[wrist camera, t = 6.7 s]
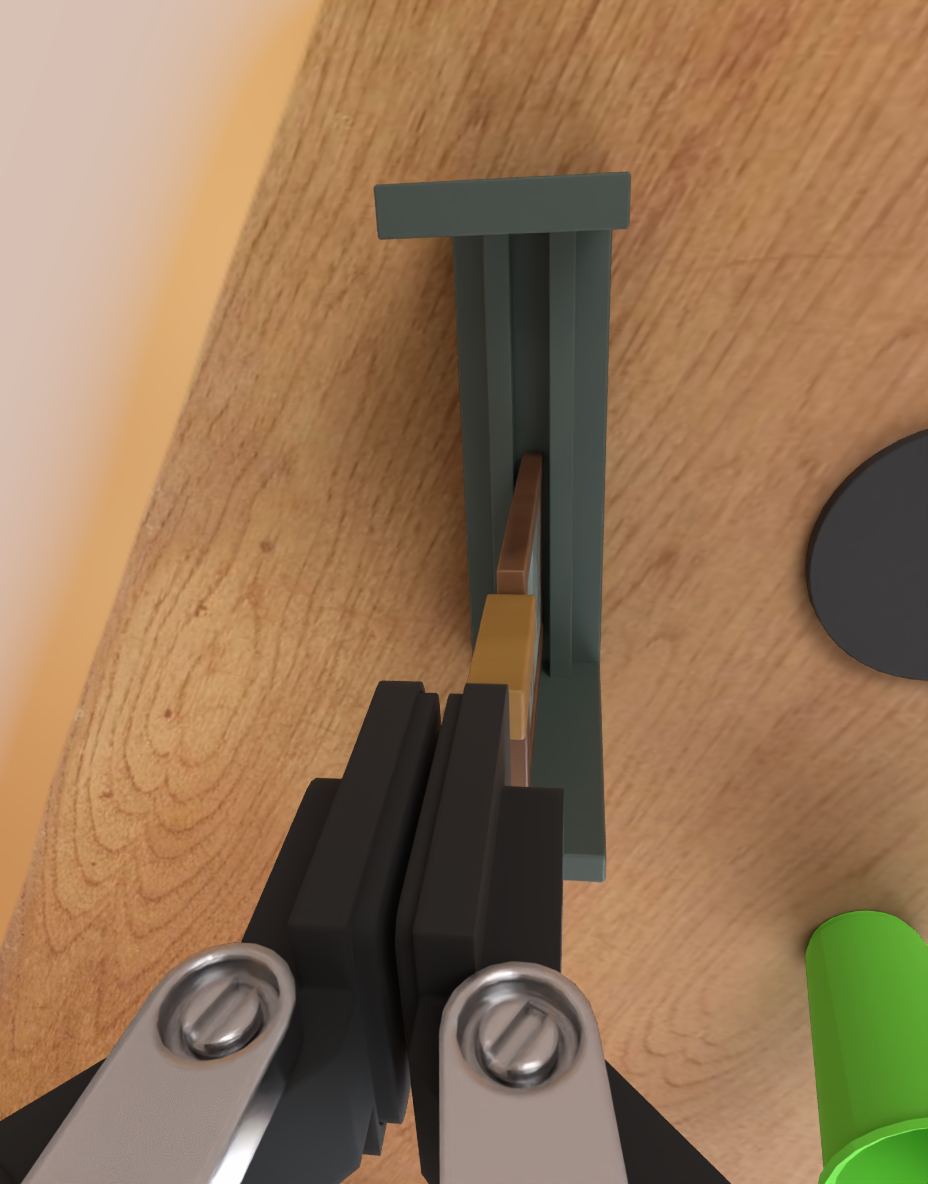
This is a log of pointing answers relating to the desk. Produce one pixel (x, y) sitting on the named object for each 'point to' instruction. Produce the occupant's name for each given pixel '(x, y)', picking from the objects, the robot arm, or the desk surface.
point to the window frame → (536, 430)
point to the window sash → (517, 618)
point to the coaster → (877, 561)
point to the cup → (870, 1048)
